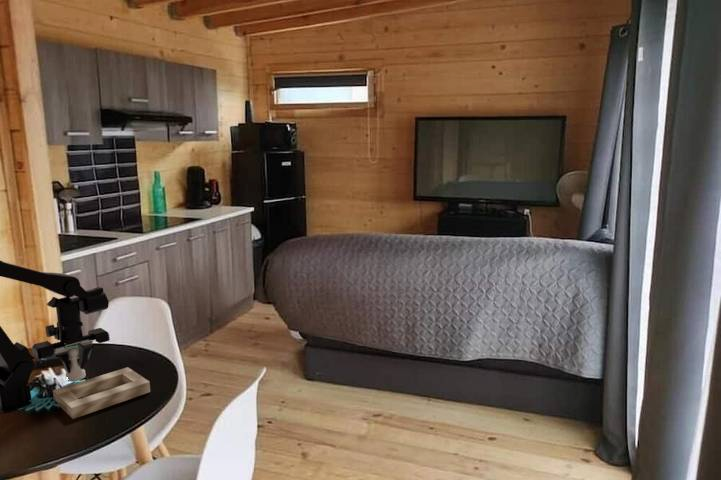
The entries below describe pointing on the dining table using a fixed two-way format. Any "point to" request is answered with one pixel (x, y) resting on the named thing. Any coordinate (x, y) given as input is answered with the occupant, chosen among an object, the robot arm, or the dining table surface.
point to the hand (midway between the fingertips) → (75, 371)
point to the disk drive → (55, 359)
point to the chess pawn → (74, 366)
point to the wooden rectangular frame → (92, 403)
